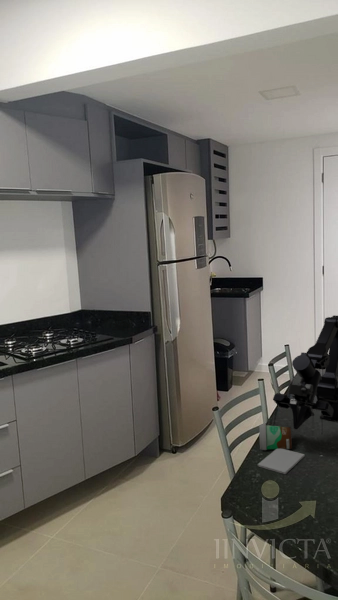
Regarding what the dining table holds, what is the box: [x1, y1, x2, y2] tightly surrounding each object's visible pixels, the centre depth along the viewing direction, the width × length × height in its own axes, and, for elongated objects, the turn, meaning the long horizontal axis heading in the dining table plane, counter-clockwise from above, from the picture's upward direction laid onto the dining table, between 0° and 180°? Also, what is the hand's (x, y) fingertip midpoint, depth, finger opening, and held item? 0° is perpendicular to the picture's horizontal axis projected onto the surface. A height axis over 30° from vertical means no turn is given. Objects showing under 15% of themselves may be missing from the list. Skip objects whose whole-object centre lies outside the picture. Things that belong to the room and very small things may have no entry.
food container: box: [258, 423, 293, 451], centre depth 155 cm, size 12×6×10 cm
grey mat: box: [257, 448, 305, 475], centre depth 143 cm, size 13×9×1 cm
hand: (295, 428), depth 150 cm, fingers closed
